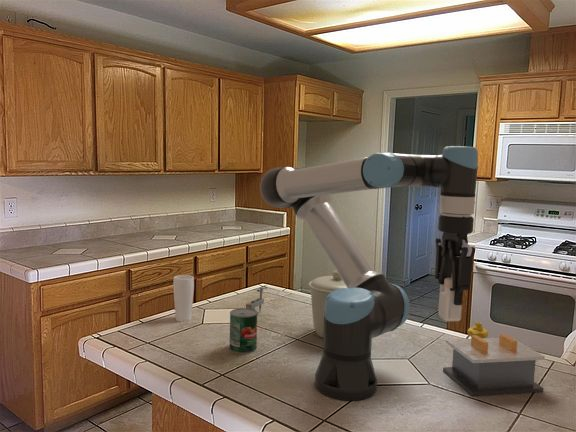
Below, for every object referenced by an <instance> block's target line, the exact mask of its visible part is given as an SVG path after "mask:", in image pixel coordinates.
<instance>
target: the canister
mask: <svg viewBox="0 0 576 432" xmlns="http://www.w3.org/2000/svg"><path fill="white" fill-rule="evenodd" d="M308 287H310V298H311V310H312V311H311V312H312V313H311V314H312V321H313V322H312V323H313V328H314V331H315V334H317V336H319V337H320V338H322V339H324V308H325V301H326V298H327V296H328V295H329V294H330V293H331V292H333V291H335V290H337V289H341V288H347V286H346V284H345V283H344V281H343V280H342V278H341V276H340V275H339V273H338V272H337V270H336V269H335V270H334V271H332V273H331V275H322V276H318V277H316V278H314V279H313V280H312V279H311V281H309V282H308Z"/></svg>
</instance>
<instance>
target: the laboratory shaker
mask: <svg viewBox="0 0 576 432" xmlns="http://www.w3.org/2000/svg"><path fill="white" fill-rule="evenodd" d="M470 337H471V338H465V339H464V338H461V339H459V338H458V339H457V338H456V339H445V343H446V344H447V345H448V346H450V347H451V348H452V363H451V366H448V367H446V366H445V367H442V372H443V373H445V374H446V375H447V376H448V377H449V378H450V379H451V380H453V382H455V383H456V384H457V385H458V386H459V387H461V388H462V389H463V390H464V391H465V392H466V393H467V394H469V396H471V397H485V396H499V395H514V394H515V395H517V394H518V395H519V394H529V393H530V394H531V393H532V394H533V393H543V392H544V387H543V386H541V385H540V384H538V383H537V382H535V372H536V362H537V361H542V360H544V361H545V359H546V357H545V355H543V354H541V353H540V352H538V351H536V350H534V349H533V348H530V347H529V346H527V345H526V344H523V343H522V342H520V341H518V340H517V339H515V338H513V337H512V336H509V335H507V334H505V333H503V334H501V333H500V334H499V337H488V338H480V337H479V336H477V335H472V336H470Z"/></svg>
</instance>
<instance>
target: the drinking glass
mask: <svg viewBox="0 0 576 432" xmlns="http://www.w3.org/2000/svg"><path fill="white" fill-rule="evenodd" d="M172 281H173V282H172V286H173V287H172V288H173V300H174V312H175V313H174V315H175V321H177V322H181V323H185V322H189V321H191V320H192V313H193V312H192V311H193V304H194V301H193V299H194V294H195V293H194V291H195V277H194V275H190V274H181V275H180V274H179V275H175V276H173V280H172Z"/></svg>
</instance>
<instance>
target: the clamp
mask: <svg viewBox="0 0 576 432" xmlns="http://www.w3.org/2000/svg"><path fill="white" fill-rule="evenodd" d="M267 289H268V286H263V287H262V286H261V287H259V288H257V289H256V291H257V293H259V297H258V298H256V299H253V300H251V301H250V302H247V303H246V304H245V308H249V309H254V310H255V308H257V307H258V308H259V309H258V312H259V313H261V310H262V305H263V304H264V303H265V299H264V298H263V292H264V290H267Z"/></svg>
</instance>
